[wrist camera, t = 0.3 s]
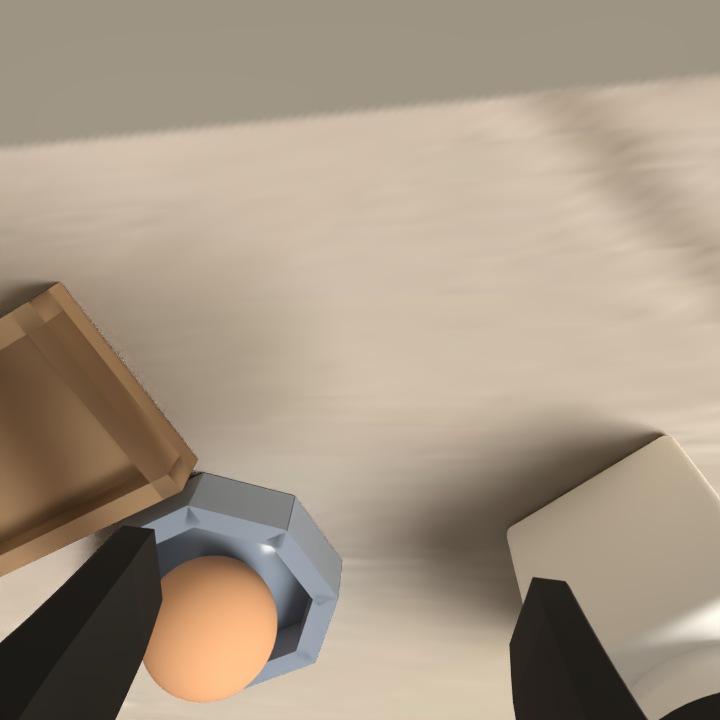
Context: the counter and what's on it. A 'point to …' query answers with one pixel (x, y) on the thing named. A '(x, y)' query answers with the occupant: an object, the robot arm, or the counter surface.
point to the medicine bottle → (640, 574)
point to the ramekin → (255, 555)
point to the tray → (74, 433)
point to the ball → (211, 629)
